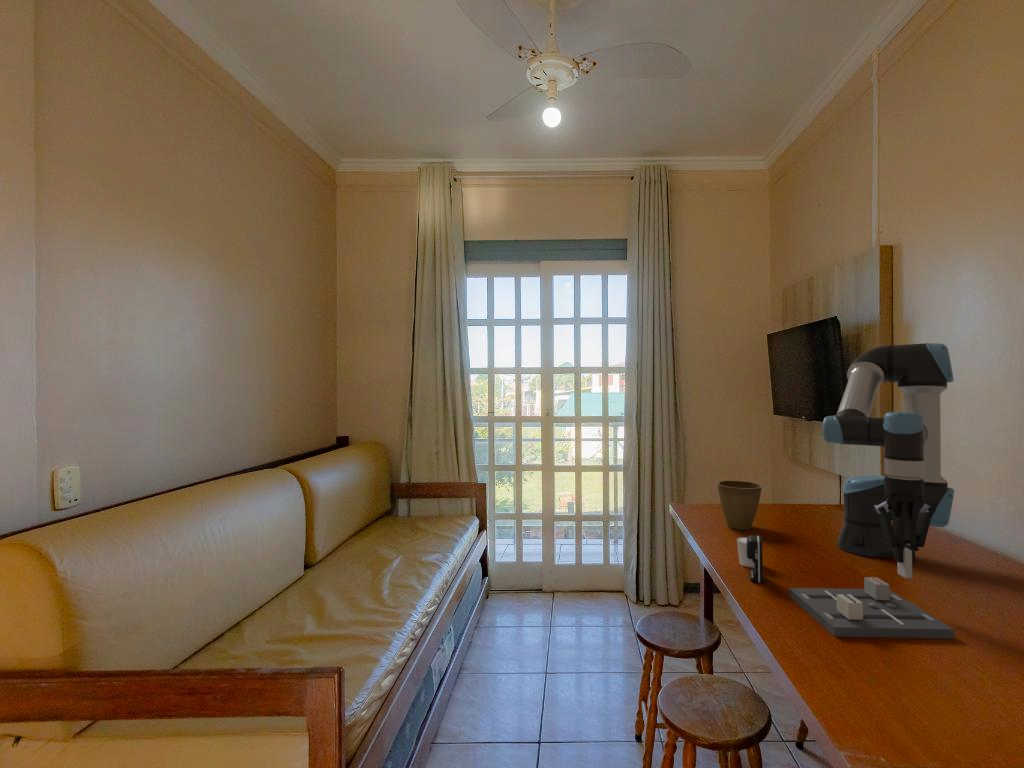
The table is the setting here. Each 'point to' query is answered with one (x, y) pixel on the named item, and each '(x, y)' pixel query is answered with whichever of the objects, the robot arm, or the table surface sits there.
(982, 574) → the table surface
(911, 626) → the console
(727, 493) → the plant pot
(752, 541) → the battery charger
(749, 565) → the grey rimmed cylinder
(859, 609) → the cream fader
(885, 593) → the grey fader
